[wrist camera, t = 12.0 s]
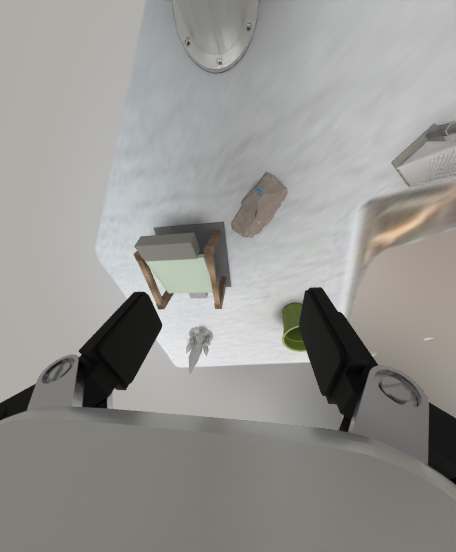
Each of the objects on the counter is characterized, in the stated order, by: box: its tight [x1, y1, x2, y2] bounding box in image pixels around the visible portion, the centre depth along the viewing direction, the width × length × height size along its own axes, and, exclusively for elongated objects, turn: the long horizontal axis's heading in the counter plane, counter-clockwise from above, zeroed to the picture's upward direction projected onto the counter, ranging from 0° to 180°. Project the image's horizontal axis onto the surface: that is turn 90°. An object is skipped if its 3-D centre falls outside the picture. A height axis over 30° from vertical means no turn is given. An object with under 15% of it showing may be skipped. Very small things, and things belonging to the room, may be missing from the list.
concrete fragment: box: [231, 173, 287, 238], centre depth 36 cm, size 7×14×6 cm, turn 145°
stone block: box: [189, 292, 208, 298], centre depth 49 cm, size 5×5×5 cm
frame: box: [134, 231, 227, 309], centre depth 42 cm, size 16×17×13 cm
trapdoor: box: [134, 233, 213, 293], centre depth 37 cm, size 17×13×3 cm
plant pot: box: [282, 303, 306, 352], centre depth 50 cm, size 12×12×11 cm
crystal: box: [186, 327, 213, 373], centre depth 60 cm, size 10×13×15 cm
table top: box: [154, 222, 231, 287], centre depth 47 cm, size 20×19×1 cm
